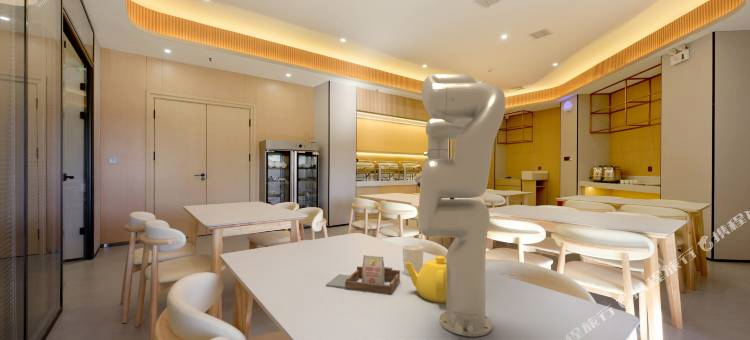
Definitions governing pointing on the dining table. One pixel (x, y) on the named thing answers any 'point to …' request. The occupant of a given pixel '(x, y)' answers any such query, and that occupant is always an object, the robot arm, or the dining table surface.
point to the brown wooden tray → (389, 276)
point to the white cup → (413, 257)
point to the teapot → (430, 279)
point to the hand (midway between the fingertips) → (438, 200)
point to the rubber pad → (338, 281)
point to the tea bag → (373, 270)
